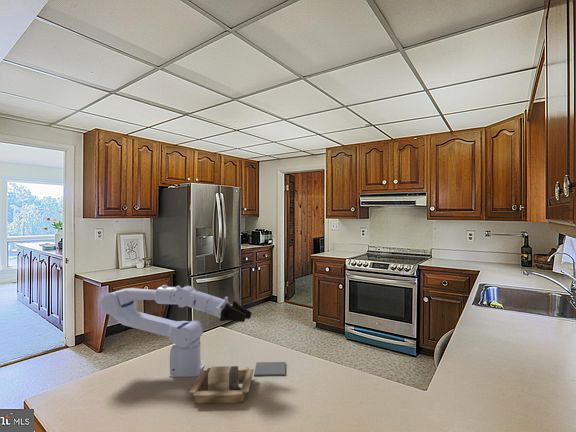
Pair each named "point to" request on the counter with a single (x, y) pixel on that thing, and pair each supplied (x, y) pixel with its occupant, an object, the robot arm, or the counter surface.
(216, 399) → the square wooden frame
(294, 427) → the counter surface
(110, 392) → the counter surface
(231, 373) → the box
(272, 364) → the mat
